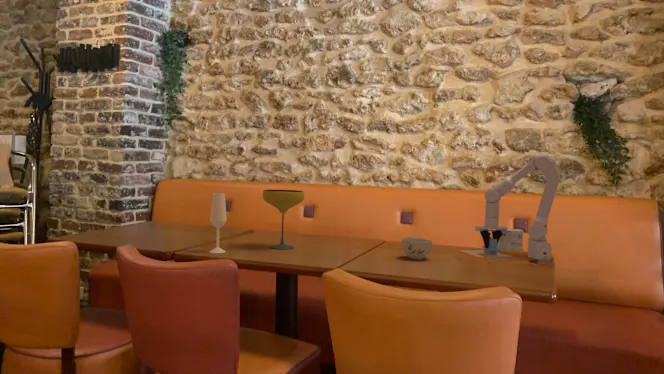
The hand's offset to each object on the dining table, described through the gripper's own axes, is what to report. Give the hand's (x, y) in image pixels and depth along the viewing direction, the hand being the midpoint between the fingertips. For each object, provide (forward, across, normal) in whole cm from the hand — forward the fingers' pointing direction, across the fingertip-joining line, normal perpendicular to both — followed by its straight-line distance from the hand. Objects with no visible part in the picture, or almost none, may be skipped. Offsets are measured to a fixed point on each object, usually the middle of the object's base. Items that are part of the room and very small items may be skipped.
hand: (490, 247), depth 234 cm
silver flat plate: (+3, +4, +3) cm, 6 cm away
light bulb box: (+4, -14, -8) cm, 17 cm away
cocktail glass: (+4, +88, -23) cm, 91 cm away
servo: (+2, 0, 0) cm, 2 cm away
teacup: (+4, +36, +5) cm, 37 cm away
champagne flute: (+4, +116, -12) cm, 117 cm away
